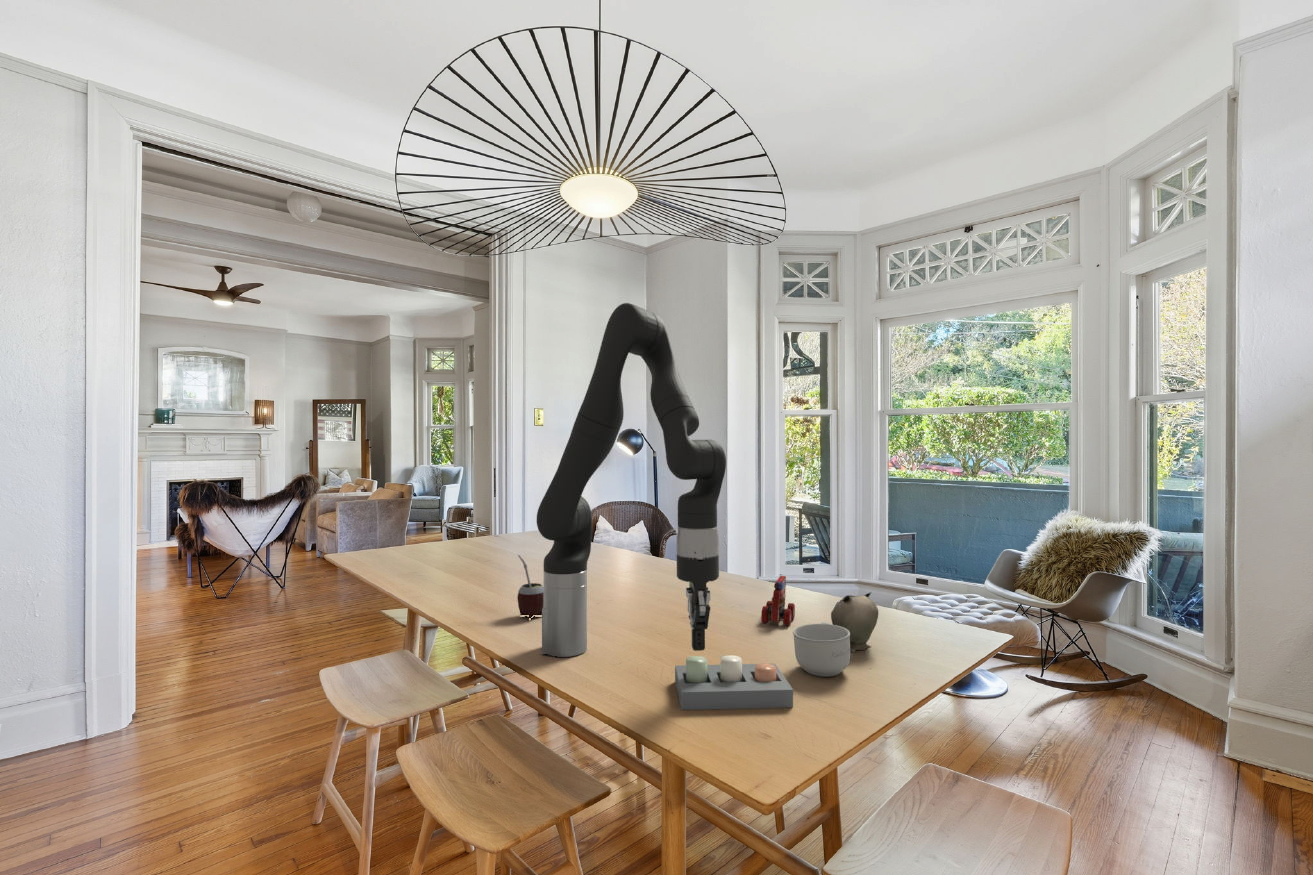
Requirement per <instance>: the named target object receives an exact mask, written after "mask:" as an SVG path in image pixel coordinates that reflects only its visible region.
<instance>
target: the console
mask: <svg viewBox="0 0 1313 875" xmlns="http://www.w3.org/2000/svg"><path fill="white" fill-rule="evenodd" d="M757 664H758V663H742V682H720V664H707V683H686V664H683V665H682V664H681V665H680V664H679V665H674V671H675V672H674V681H675V687H676V691H677V696H678V701H679V705H680V710H681V711H696V710H697V711H701V710H702V711H703V710H704V711H705V710H741V709H743V710H744V709H775V708H780V709H781V708H793V707H794V689H793V687H792V686H791V685H790V683H789V681H788V680H787V678H786V677H785V675H784V674H783V673H782V671H781V669H780V668H779V666H778V665H777V664H776V663H771V664H772V665H774V666H775V667H776V681H764V682H756V681H755V665H757Z"/></svg>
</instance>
